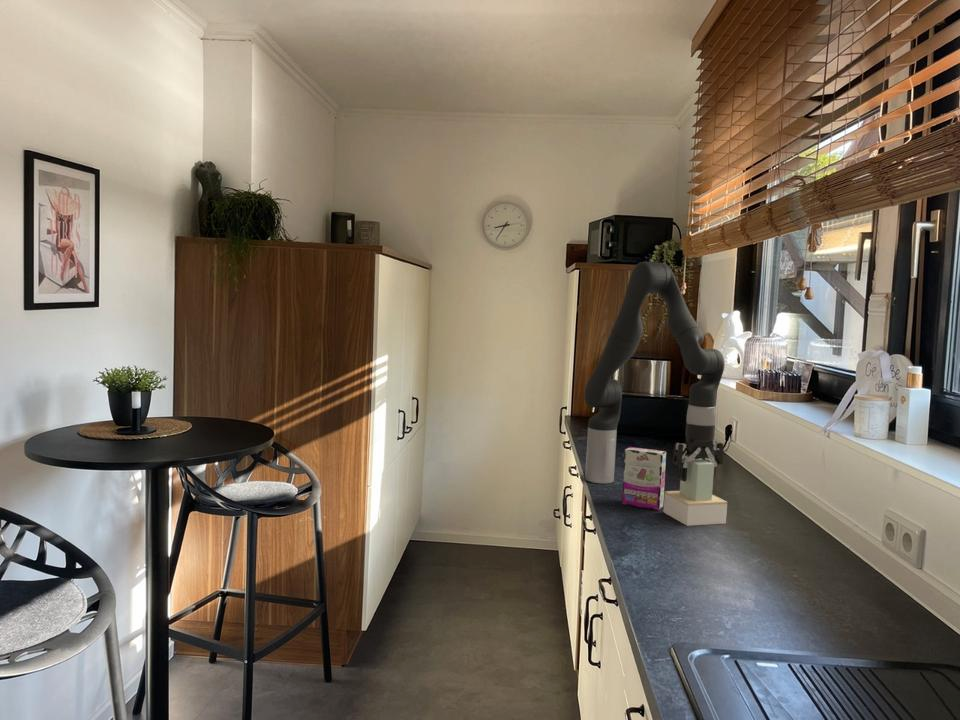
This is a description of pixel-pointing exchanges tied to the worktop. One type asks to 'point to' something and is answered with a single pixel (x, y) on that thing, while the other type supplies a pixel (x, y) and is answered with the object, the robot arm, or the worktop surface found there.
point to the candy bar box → (644, 478)
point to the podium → (695, 509)
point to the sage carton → (698, 480)
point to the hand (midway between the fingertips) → (696, 480)
